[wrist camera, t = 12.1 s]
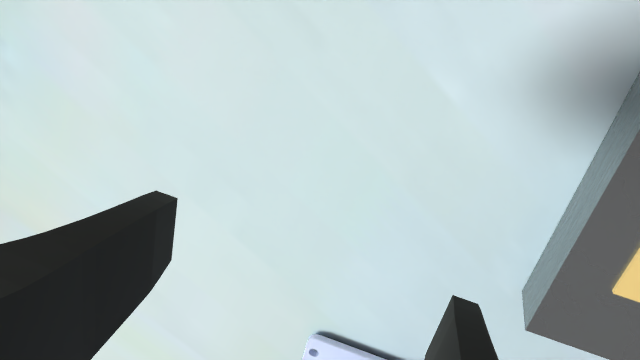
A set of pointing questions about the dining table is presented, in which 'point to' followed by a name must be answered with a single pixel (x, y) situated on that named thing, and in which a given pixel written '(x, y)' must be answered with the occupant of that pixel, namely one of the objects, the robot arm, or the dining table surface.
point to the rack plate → (596, 253)
